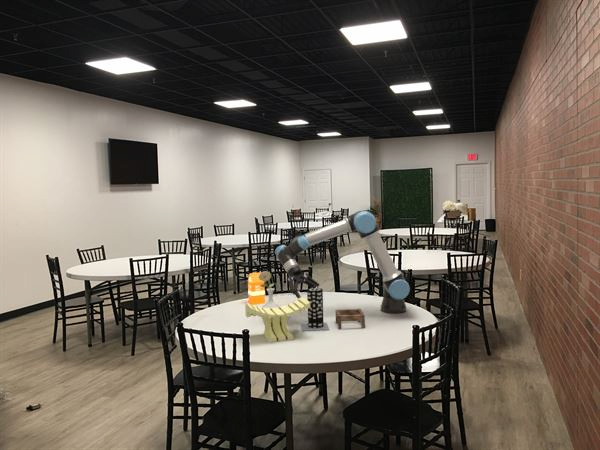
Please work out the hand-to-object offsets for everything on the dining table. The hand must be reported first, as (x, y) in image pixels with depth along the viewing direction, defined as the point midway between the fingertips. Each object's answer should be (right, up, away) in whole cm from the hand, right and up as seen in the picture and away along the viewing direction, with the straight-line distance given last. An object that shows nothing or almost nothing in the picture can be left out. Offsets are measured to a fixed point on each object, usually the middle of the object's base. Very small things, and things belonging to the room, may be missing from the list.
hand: (312, 299), depth 276 cm
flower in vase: (-25, -13, +38) cm, 48 cm away
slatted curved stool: (-18, -17, -15) cm, 28 cm away
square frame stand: (+20, -14, +2) cm, 25 cm away
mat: (+1, -15, 0) cm, 15 cm away
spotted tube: (+2, -14, +1) cm, 15 cm away
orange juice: (-35, -11, +62) cm, 72 cm away
